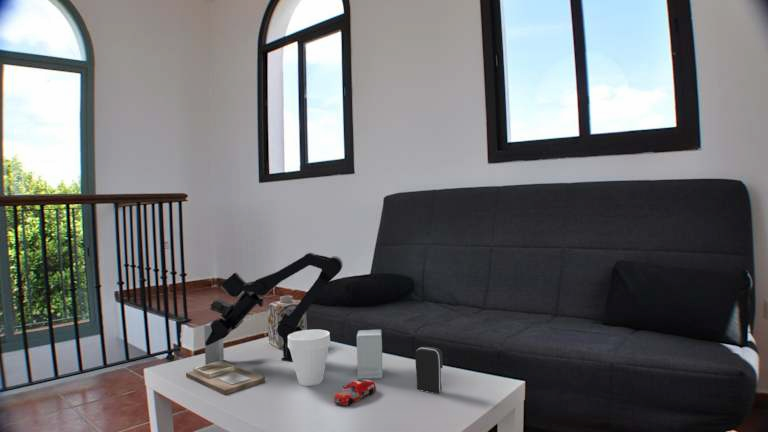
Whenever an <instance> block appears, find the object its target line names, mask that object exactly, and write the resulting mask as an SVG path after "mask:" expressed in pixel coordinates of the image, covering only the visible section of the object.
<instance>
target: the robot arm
mask: <svg viewBox="0 0 768 432" xmlns="http://www.w3.org/2000/svg"><path fill="white" fill-rule="evenodd" d="M343 264H344V263H343V260H342V258H340V257H339V256H336V255H333V256H329V257H328V256H325V255H321V254H315V253H314V252H307V253H306V254H304V256H301V258H299V259H297V260H295V261H294V262H292V263H290V264H288V265H286V266H284V267H283V268H281V269H279V270H278V271H275V272H272V273H270V274H267V275H263V276H261V277H259V278H257V279H256V280H254V281H249V282H246V281H245V280H244V279H243V278H242V277H241V276H240V275H239V274H238V272H234V273H233V274H232V275H230V276H229V277H228V278H226V279H225V280H224V281H223V282H222V283H221V285H220V288H221V289H222V290H223V291H224V292H225V293H227V295H229V296H230V297H231V298H238V299H237V300H236V301H235V302H234V303H233V304H232V303H229V302H228V301H225V300H223V299H221V298H216V299H214V300H213V301H212V303H211V304H210V310H211V311H212V312H213V311H214V312H217V313H219V314H221V315H220V316H221V317H218V318H216V319H214V320H213V321H211V322H212V323H211V322H210V323H211V324H210V325H211V328H212V332H211V334H210V335H209V337H208V339H207V341H206V342H205V341H204V345H205V344H206V345H207V346H208V345H210V344H212V343H214V342H216V341H218V340H220V339H223V340H224V338H226V337H227V336H228V335H229V334H230V333H231V332H232V331H234V330H236V329H237V328H238V327H240V326H241V324H243V323H244V319H245V318H246V317H247V316H248V315H249V313H250V312H251V311H252V310H253V309H254V308H255V307H256V306H259V307H260V308H261V307H263V306H265V297H263V296H265V295H266V294H268V293H269V292H271V291H272V290H273V289H275V288H276V287H277V285H280V284H281V283H282V282H283V281H284V280H287V279H288V278H290V277H291V276H293V275H295V274H297V273H298V272H300V271H302V270H304V269H305V268H307V267H309V266H311V267H315V268H318V269H320V273H319V275H318V277H317V279H316V280H315V282H314V283H313V284H312V286H311V287H310V288H309V289H308V290H307V292H306V293H305V295H303V298H302V299H301V300H300V303H299V304H298V305H297V307H296V308H295V309H294V310H293V311H292V312H290V311H289V310H288V311H287V312H286V313H285V314H284V316H283V318H282V319H281V320H280V321H279V322H278V324H279V325H278V327H277V331H278V334H279V335H280V336H281V337H282V338H283V341H284V344H283V349H282V356H283V357H281V361H288V362H293V360H292V356H291V353H290V349H289V348H288V335H289V334H291V333H294V332H297V331H302V329H301V328H300V327H299V326H298V325H299V323H300V321H301V319H302V317H303V315H304V313H305V312H306V313H307V311H308V309H309V308H310V307H311V305H313V303H314V302H315V300H316V299H317V298H318V296H319V295H320V293H321V292H322V291H323V290H324V288H325V286H326V285H327V284H329V282H331V281H332V279H334V278H335V277H336V276H337V275H338V274H339V273H340V272H341V271H342V269H343V266H344V265H343Z"/></svg>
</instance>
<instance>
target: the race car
mask: <svg viewBox="0 0 768 432" xmlns="http://www.w3.org/2000/svg"><path fill="white" fill-rule="evenodd" d="M376 390H377V385H376V383H375V381H373V380H370V379H356V380H352V381H350V382H348V383H347V384H346V385H345V386H342V389H341V390H339V391H338V392H337V393H335V394H334V395H333V402H334V404H336V405H339V406H351V405H353V404H354V403H357V402H359V401H361V400H363V399H365V398H367V397H370V396H371V395H374V393H375V392H376Z"/></svg>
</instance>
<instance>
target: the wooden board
mask: <svg viewBox="0 0 768 432" xmlns="http://www.w3.org/2000/svg"><path fill="white" fill-rule="evenodd" d="M192 369H193V370H192V371H186V372H185V377H186V378H188V379H190V380H193V381H195V382H197V383H199V384H200V385H203V386H205V387H206V388H207V387H208V388H210V389H212V390H214V391H216V392H218V393H220V394H223V395H228V394H231V393H235V392H237V391H241V390H244V389H246V388H251V387H253V386H256V385H259V384H261V383H265V381H266V378H265V377H264V376H262V375H259V374H256V373H254V372H251V371H249V370H245V369H243V368H240V367H237V366H236V365H233V364H231V363H228V362H226V361H224V360H223V361H218V362H215V363H211V364H207V365H206V364H204V365H201V366H200V365H199V366H197V367H193V368H192Z"/></svg>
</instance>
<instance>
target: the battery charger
mask: <svg viewBox="0 0 768 432" xmlns="http://www.w3.org/2000/svg"><path fill="white" fill-rule="evenodd" d="M443 362H444V361H443V353H442V351H441V349H439V348H437V347H433V346H431V347H430V346H421V347H419V348H417V349H416V351H415V371H416V372H415V373H416V375H415V376H416V389H417V391H421V390H423V391H422V392H426V391H428V392H427V393H431V392H433V394H440V393H441V392H442V390H443V388H442V383H441V382H442V381H441V377H442V369H443V367H444V366H443V365H444V363H443Z"/></svg>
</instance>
